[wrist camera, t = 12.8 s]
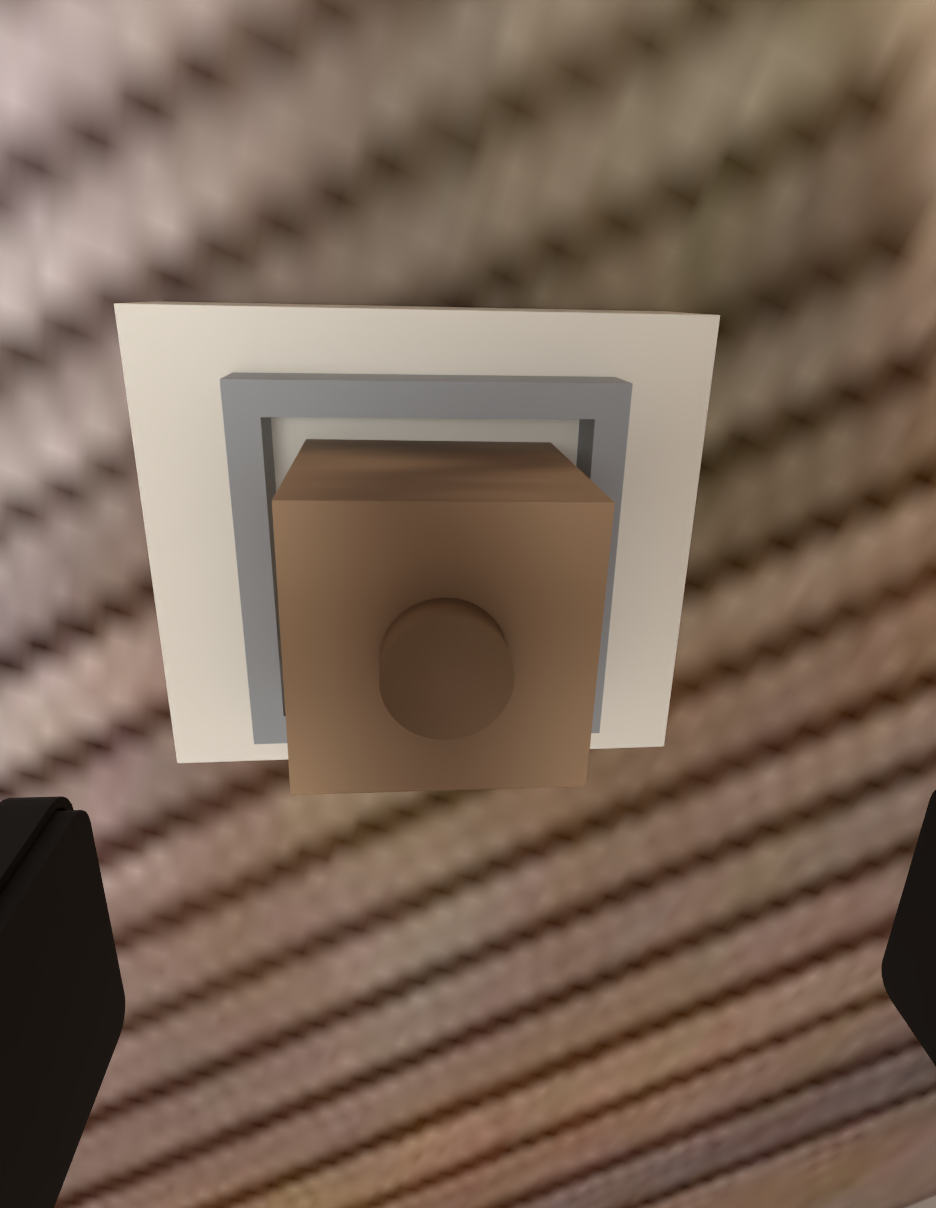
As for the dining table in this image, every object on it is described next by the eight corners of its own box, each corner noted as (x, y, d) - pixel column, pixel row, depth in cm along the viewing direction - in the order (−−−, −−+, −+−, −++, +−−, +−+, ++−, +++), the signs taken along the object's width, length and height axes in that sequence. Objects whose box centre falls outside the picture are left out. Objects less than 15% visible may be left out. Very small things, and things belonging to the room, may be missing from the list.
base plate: (665, 311, 22) (746, 316, 17) (625, 683, 27) (681, 775, 22) (162, 301, 21) (90, 304, 16) (208, 694, 26) (162, 794, 20)
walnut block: (550, 442, 19) (630, 517, 13) (535, 659, 22) (597, 815, 15) (306, 439, 19) (262, 515, 12) (316, 662, 21) (284, 826, 15)
